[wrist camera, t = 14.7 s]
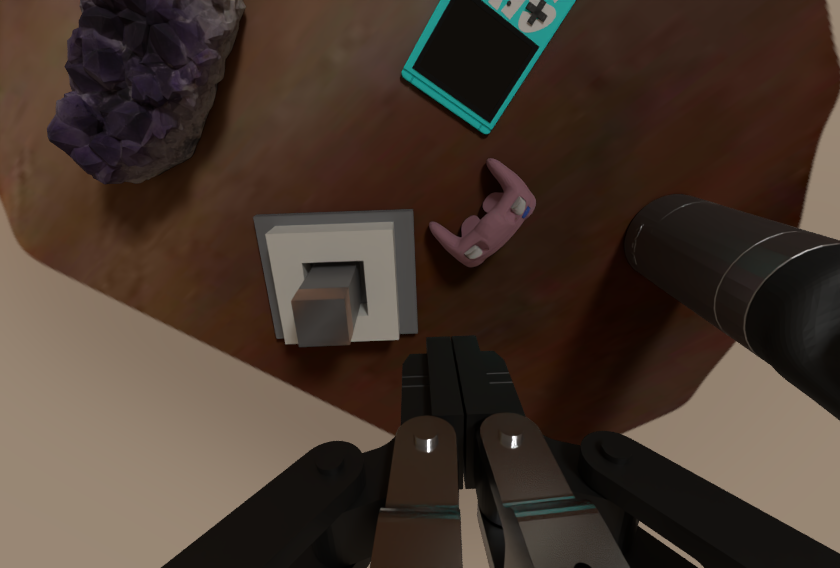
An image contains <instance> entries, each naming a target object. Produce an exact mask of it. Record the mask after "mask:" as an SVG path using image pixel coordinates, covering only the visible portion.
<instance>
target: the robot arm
mask: <svg viewBox="0 0 840 568" xmlns="http://www.w3.org/2000/svg"><path fill="white" fill-rule="evenodd" d="M624 249H625V255H626V258H627V260H628V262H629V264H630V265H631V266H632V267H633V269H635V270H636V271H637V272H639V273H640V274H641V275H643V276H644V277H646V278H647V279H648V280H650V281H651V282H653V283H654V284H655V285H657V286H658V287H659V288H661V289H662V290H664V291H665V292H667V293H668V294H669V295H671V296H672V297H674V298H675V299H677V300H678V301H679V302H681V303H682V304H684V305H685V306H687V307H688V308H689V309H691V310H692V311H694V312H695V313H697V314H698V315H699V316H701V317H702V318H704V319H705V320H707V321H708V322H709V323H711V324H712V325H714V326H715V327H717V328H718V329H719V330H721V331H722V332H724V333H725V334H727V335H728V336H730V337H731V338H733V339H734V340H735V341H737V342H738V343H740V344H741V345H743V346H744V347H745V348H747V349H749V350H750V351H751V352H753V353H754V354H755V355H757V356H758V357H760V358H761V359H763V360H764V361H766V362H767V363H768V364H770V365H771V366H772V367H773V368H774V369H775V370H776V371H777V372H778V373H779V374H780V375H781V376H782V377H783V378H785V379H786V380H787V381H788V382H790V383H791V384H792V385H794V386H795V387H797V388H798V389H799V390H801V391H802V392H803V393H805V394H806V395H807V396H809V397H810V398H812V399H813V400H814V401H816V402H817V403H818V404H819V405H821V406H822V407H823V408H824V409H826V410H827V411H828V412H829V413H831V414H832V415H833V416H835V417H836V418H837V419H838V420H840V240H836V239H833V238H829V237H826V236H823V235H819V234H816V233H813V232H809V231H805V230H802V229H799V228H795V227H792V226H789V225H785V224H782V223H779V222H775V221H772V220H769V219H765V218H762V217H759V216H755V215H752V214H749V213H745V212H742V211H739V210H735V209H732V208H729V207H725V206H722V205H719V204H716V203H713V202H709V201H706V200H703V199H699V198H696V197H692V196H688V195H683V194H673V195H668V196H664V197H661V198H659V199H657V200H654V201H653V202H651V203H650V204H648V205H647V206H645V207H644V208H643V209H642V210H641V211H640V212H639V213H638V214H637V215H636V216H635V218H634V219H633V220H632V222H631V224H630V226H629V228H628V230H627V233H626V237H625V244H624ZM426 345H427V354H410V355H409V356H408V358H407V359H406V360H405V362H404V363H403V370H402V403H401V426H400V427H399V429H398V431H397V433H396V436H395V437H394V438H393V439H392V440H391V441H390V442H389V443H387V444H386V445H384V446H382V447H380V448H377V449H374V450H371V451H368V452H364V453H361V451H360V450H359V449H358V447H356V446H355V445H353V444H351V443H348V442H344V441H331V442H327V443H323V444H321V445H318V446H317V447H315V448H313V449H312V450H310V451H309V452H308V453H306V454H305V455H304V456H302V457H301V458H300V459H299V460H297V461H296V462H295V463H294V464H292V465H291V466H290V467H288V468H287V469H286V470H285V471H283V472H282V473H281V474H280V475H278V476H277V477H276V478H274V479H273V480H272V481H271V482H269V483H268V484H267V485H266V486H265V487H263V488H262V489H261V490H259V491H258V492H257V493H256V494H254V495H253V496H252V497H250V498H249V499H248V500H246V501H245V502H244V503H243V504H241V505H240V506H239V507H238V508H236V509H235V510H234V511H232V512H231V513H230V514H229V515H227V516H226V517H225V518H224V519H222V520H221V521H220V522H219V523H217V524H216V525H215V526H214V527H212V528H211V529H210V530H208V531H207V532H206V533H205V534H203V535H202V536H201V537H199V538H198V539H197V540H196V541H194V542H193V543H192V544H191V545H189V546H188V547H187V548H186V549H184V550H183V551H182V552H181V553H179V554H178V555H177V556H175V557H174V558H173V559H171V560H170V561H169V562H168V563H167V564H165V565H164V566H163V567H161V568H367V567H368V565H369V564H370V562H371V564H370V568H463V565H462V540H461V517H460V509H459V489H463V475H464V481H465V488H466V489H476V493H477V499H478V512H477V516H478V523H479V527H480V530H481V534H482V539H483V543H484V546H485V551H486V555H487V559H488V563H489V567H490V568H698V567H696V566H695V565H693V564H692V563H691V562H689V561H688V560H686V559H685V558H683V557H682V556H680V555H679V554H678V553H676V552H675V551H673V550H672V549H670V548H669V547H667V546H666V545H665V544H663V543H662V542H660V541H659V540H657V539H656V538H654V537H653V536H651V535H650V534H649V533H647V532H646V531H645V530H643V529H642V528H640V527H639V526H638V523H639V521H640V522H642V523H643V524H645V525H647V526H648V527H649V528H651V529H652V530H654V531H655V532H657V533H658V534H660V535H661V536H662V537H664V538H665V539H667V540H668V541H670V542H671V543H673V544H674V545H675V546H677V547H679V548H680V549H681V550H683V551H684V552H686V553H687V554H689V555H690V556H692V557H693V558H695V559H696V560H697V561H698V562H699V563H700V564H701V565H702V566H703V567H704V568H840V554H839V553H838V552H836V551H834V550H832V549H830V548H828V547H827V546H825V545H823V544H821V543H819V542H817V541H815V540H814V539H812V538H810V537H809V536H807V535H805V534H803V533H801V532H799V531H797V530H796V529H794V528H792V527H790V526H789V525H787V524H785V523H783V522H781V521H779V520H778V519H776V518H774V517H772V516H770V515H768V514H767V513H765V512H763V511H761V510H760V509H758V508H756V507H754V506H752V505H750V504H749V503H747V502H745V501H743V500H741V499H739V498H738V497H736V496H734V495H732V494H730V493H729V492H726V491H725V490H723V489H721V488H720V487H718V486H716V485H714V484H712V483H711V482H709V481H707V480H705V479H703V478H701V477H700V476H698V475H696V474H694V473H692V472H691V471H689V470H687V469H685V468H683V467H681V466H680V465H678V464H676V463H674V462H672V461H671V460H669V459H667V458H665V457H663V456H661V455H660V454H658V453H656V452H654V451H652V450H651V449H649V448H647V447H645V446H643V445H642V444H639V443H638V442H636V441H634V440H632V439H631V438H628V437H626V436H624V435H622V434H619V433H615V432H609V431H597V432H593V433H591V434H588V435H587V436H586V437H585V438H584V439H583V440H582V442H581V446H580V445H575V444H570V443H565V442H561V441H557V440H553V439H551V438H548V437H546V436H544V435H542V433H541V431H540V429H539V428H538V426H537V425H536V424H535V423H534V422H533V421H531V420H530V419H528V418H527V417H526V416H525V414H524V411H523V408H522V406H521V403H520V400H519V398H518V395H517V393H516V390H515V387H514V385H513V383H512V379H511V377H510V374H509V372H508V369H507V366H506V364H505V361H504V360H503V359H502V358H501V357H500V356H499V355H498V354H497V353H495V352H494V351H480V349H479V346H478V342H477V339H476V336H475V335H473V336H452V337H451V340H450V336H449V337H426Z"/></svg>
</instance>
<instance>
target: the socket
mask: <svg viewBox="0 0 840 568" xmlns="http://www.w3.org/2000/svg"><path fill="white" fill-rule="evenodd" d="M253 218H254V224H255V229H256V234H257V239H258V244H259V250H260V255H261V260H262V265H263V270H264V276H265V281H266V286H267V291H268V296H269V302H270V307H271V312H272V317H273V322H274V328H275V333H276V338H277V339H282V338H284V339H285V344H298V339H297V333H296V327H295V322H294V316H293V310H292V305H291V300H292V298H293V297H294V295H295V294H296V292H297V291H298V289H299V287H300V286H301V284H302V283H303V281H304V279H305V278H306V276H307V275H308V273H309V272H310V270H311V268H312V267H313V265H314V264H315V262H341V261H359V268H360V278H361V288H362V300H361V304H360V308H359V312H358V316H357V320H356V323H355V327H354V331H353V335H352V339H351V342H356V341H382V340H399V334H412V333H418V327H417V301H416V275H415V249H414V223H413V209H401V210H373V211H346V212H318V213H290V214H263V215H256V216H254V217H253Z"/></svg>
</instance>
